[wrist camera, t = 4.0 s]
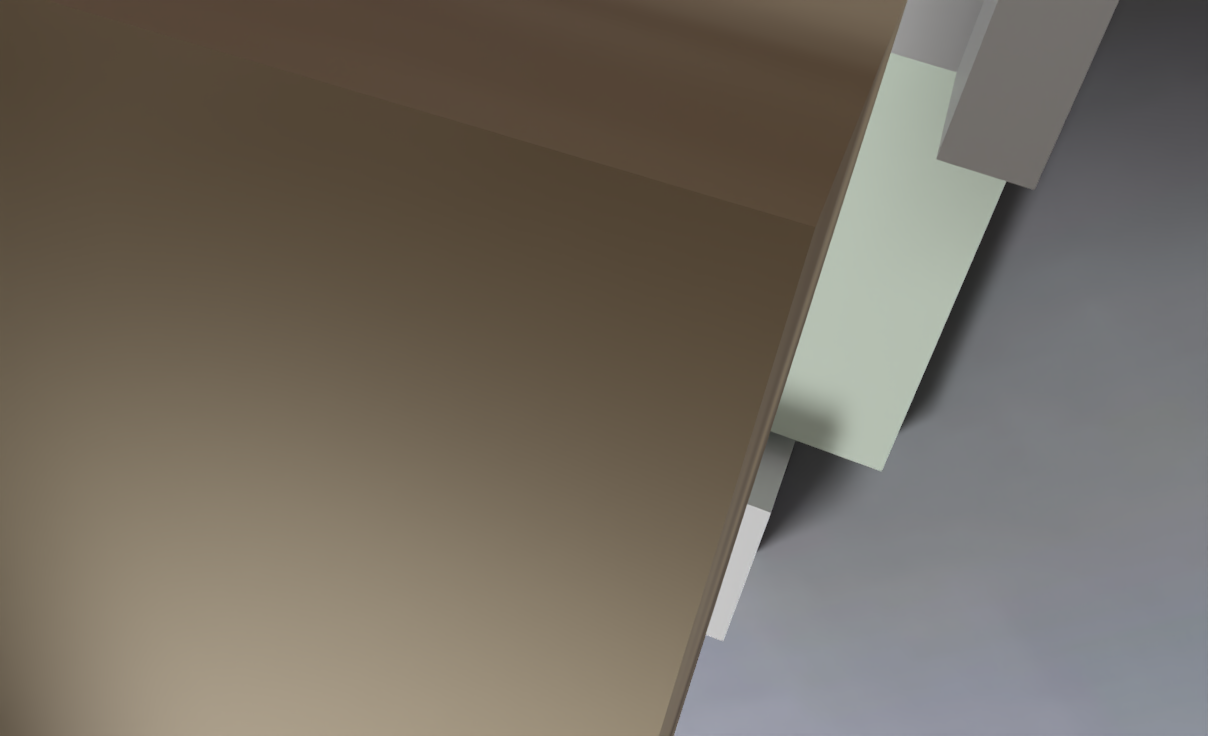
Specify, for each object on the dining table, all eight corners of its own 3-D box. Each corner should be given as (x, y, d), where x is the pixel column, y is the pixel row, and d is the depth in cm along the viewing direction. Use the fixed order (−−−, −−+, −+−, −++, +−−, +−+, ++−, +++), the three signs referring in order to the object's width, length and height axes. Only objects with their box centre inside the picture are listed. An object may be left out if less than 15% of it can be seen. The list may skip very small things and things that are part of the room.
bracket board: (827, 584, 22) (764, 835, 17) (448, 439, 23) (288, 633, 18) (1189, -268, 14) (1273, -265, 9) (589, -413, 15) (374, -481, 10)
